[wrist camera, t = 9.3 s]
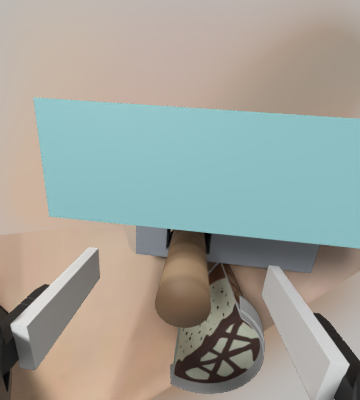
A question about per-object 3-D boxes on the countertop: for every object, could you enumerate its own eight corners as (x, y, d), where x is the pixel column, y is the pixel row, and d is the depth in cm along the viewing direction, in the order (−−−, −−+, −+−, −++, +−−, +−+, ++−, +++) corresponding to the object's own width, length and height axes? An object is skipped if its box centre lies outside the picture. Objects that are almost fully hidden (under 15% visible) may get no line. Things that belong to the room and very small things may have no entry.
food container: (209, 326, 30) (215, 413, 20) (176, 307, 29) (167, 386, 20) (262, 274, 26) (300, 348, 17) (227, 251, 26) (245, 314, 16)
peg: (178, 205, 24) (156, 279, 11) (204, 208, 24) (214, 286, 11) (176, 229, 25) (154, 324, 12) (201, 232, 25) (207, 331, 12)
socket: (144, 237, 26) (70, 372, 11) (147, 130, 22) (33, 97, 7) (293, 253, 25) (452, 431, 10) (324, 143, 21) (685, 140, 5)
